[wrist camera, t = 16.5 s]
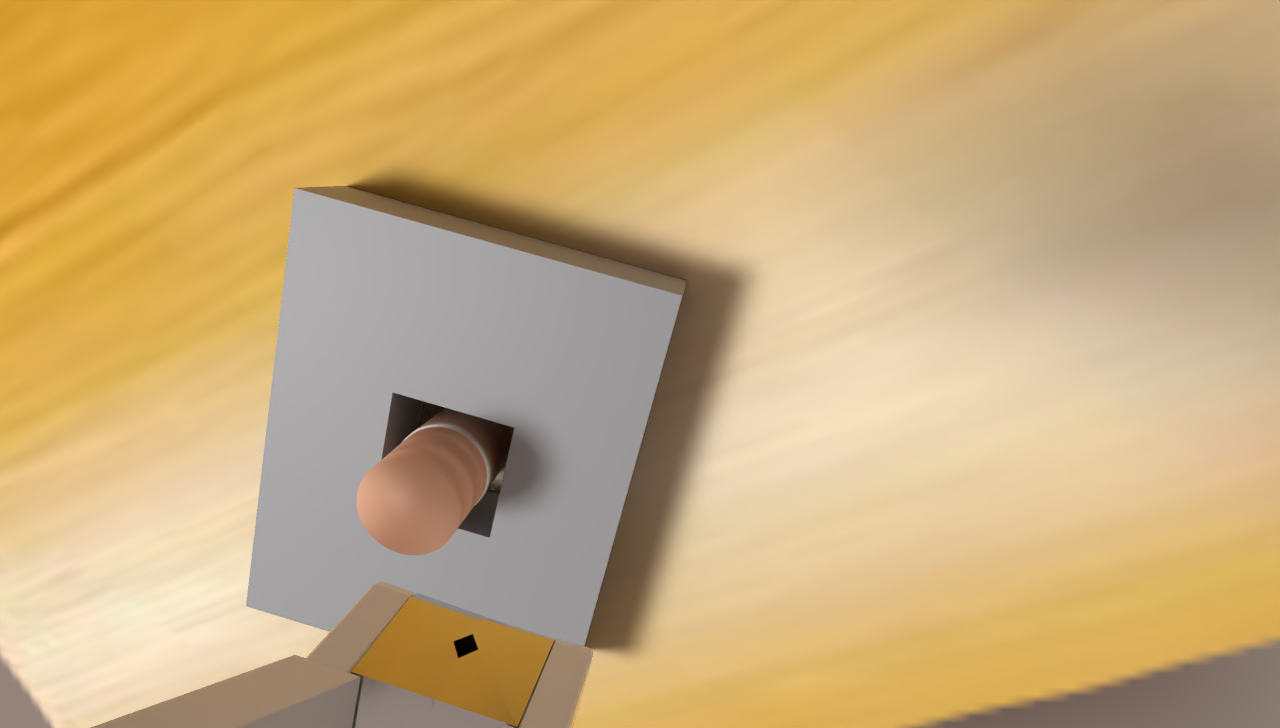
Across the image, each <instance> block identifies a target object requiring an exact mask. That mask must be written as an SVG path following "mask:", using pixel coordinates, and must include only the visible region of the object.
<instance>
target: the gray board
mask: <svg viewBox="0 0 1280 728" xmlns="http://www.w3.org/2000/svg"><path fill="white" fill-rule="evenodd" d="M686 283H687V281H686V280H683V279H679V278H676V277H672V276H668V275H665V274H661V273H658V272H654V271H650V270H647V269H643V268H640V267H636V266H632V265H629V264H625V263H621V262H618V261H614V260H611V259H607V258H603V257H600V256H596V255H593V254H589V253H585V252H582V251H578V250H575V249H571V248H567V247H564V246H560V245H557V244H553V243H549V242H546V241H542V240H539V239H535V238H531V237H528V236H524V235H521V234H517V233H513V232H510V231H506V230H502V229H499V228H495V227H492V226H488V225H484V224H481V223H477V222H474V221H470V220H466V219H463V218H459V217H456V216H452V215H448V214H445V213H441V212H438V211H434V210H430V209H427V208H423V207H420V206H416V205H412V204H409V203H405V202H401V201H398V200H394V199H391V198H387V197H383V196H380V195H376V194H373V193H369V192H365V191H362V190H358V189H355V188H351V187H347V186H334V187H308V188H295V190H294V198H293V207H292V215H291V224H290V233H289V241H288V250H287V259H286V267H285V276H284V284H283V293H282V302H281V310H280V319H279V328H278V336H277V345H276V354H275V362H274V371H273V379H272V388H271V397H270V405H269V414H268V423H267V431H266V440H265V448H264V457H263V466H262V474H261V483H260V492H259V500H258V509H257V517H256V526H255V535H254V543H253V552H252V561H251V569H250V578H249V586H248V595H247V604H246V606H247V607H251V608H254V609H257V610H260V611H264V612H267V613H270V614H274V615H277V616H280V617H283V618H287V619H290V620H293V621H297V622H300V623H303V624H306V625H310V626H313V627H316V628H320V629H323V630H326V631H331V630H332V629H333V628H334V627H335V626H336V625H337V624H338V623H339V622H340V620H341V619H342V618H343V617H344V616H345V615H346V614H347V613H348V612H349V611H350V609H351V608H352V607H353V606H354V605H355V604H356V603H357V602H358V601H359V600H360V598H361V597H362V596H363V595H364V594H365V593H366V592H367V591H368V590H369V589H370V588H371V586H373V585H375V584H377V583H379V582H381V581H382V582H385V583H388V584H391V585H394V586H397V587H400V588H403V589H406V590H409V591H412V592H414V593H415V594H416V593H419V594H422V595H425V596H428V597H431V598H433V599H436V600H439V601H442V602H445V603H448V604H451V605H453V606H456V607H459V608H462V609H465V610H468V611H471V612H474V613H476V614H479V615H482V616H485V617H487V618H490V619H493V620H497V621H500V622H503V623H506V624H509V625H512V626H516V627H519V628H522V629H525V630H528V631H531V632H535V633H538V634H541V635H544V636H547V637H550V638H554V639H561V640H564V641H567V642H571V643H574V644H578V645H581V646H584V647H585V644H586V640H587V637H588V633H589V629H590V626H591V622H592V619H593V615H594V612H595V608H596V604H597V601H598V597H599V594H600V590H601V587H602V583H603V579H604V576H605V572H606V569H607V565H608V562H609V558H610V554H611V551H612V547H613V544H614V540H615V537H616V533H617V530H618V526H619V522H620V519H621V515H622V512H623V508H624V505H625V501H626V497H627V494H628V490H629V487H630V483H631V480H632V476H633V472H634V469H635V465H636V462H637V458H638V455H639V451H640V447H641V444H642V440H643V437H644V433H645V430H646V426H647V423H648V419H649V415H650V412H651V408H652V405H653V401H654V398H655V394H656V390H657V387H658V383H659V380H660V376H661V373H662V369H663V365H664V362H665V358H666V355H667V351H668V348H669V344H670V340H671V337H672V333H673V330H674V326H675V323H676V319H677V316H678V312H679V308H680V305H681V301H682V298H683V294H684V291H685V287H686ZM424 402H428V403H431V404H434V405H438V406H441V407H445V408H448V409H452V410H455V411H459V412H462V413H466V414H469V415H473V416H476V417H480V418H483V419H486V420H490V421H493V422H497V423H500V424H504V425H507V426H511V427H514V431H513V436H512V440H511V445H510V449H509V454H508V458H507V463H506V467H505V471H504V476H503V480H502V485H501V489H500V494H499V493H496V492H493V491H489V490H487V491H486V493H485V494H484V495H483V497H482V498H481V500H480V501H479V502H478V503H477V504H476V505H475V506H474V507H473V508H472V510H471V511H470V512H469V514H468V515H467V517H466V518H465V519H464V521H463V522H462V523H461V525H460V526H459V527H458V529H457V530H456V531H455V533H454V534H453V536H452V537H451V538H450V540H449V541H448V542H447V543H446V544H445V545H443V546H442V547H441V548H439V549H438V550H436V551H434V552H431V553H428V554H424V555H405V554H400V553H397V552H394V551H392V550H390V549H388V548H386V547H384V546H383V545H381V544H380V543H378V542H377V541H376V540H375V539H374V538H373V537H372V536H371V535H370V534H369V533H368V531H367V530H366V529H365V527H364V525H363V524H362V522H361V519H360V517H359V514H358V510H357V500H356V499H357V491H358V487H359V485H360V482H361V480H362V479H363V477H364V476H365V474H366V473H367V472H368V471H369V470H370V469H371V468H373V467H374V466H375V465H376V464H377V463H378V462H380V461H381V460H382V459H383V458H384V457H386V456H387V455H388V454H389V453H390V452H391V451H393V450H394V449H395V448H396V447H397V446H399V445H400V444H401V443H402V442H403V441H404V439H405V438H406V437H407V436H409V435H410V434H411V433H412V432H413V431H414V430H416V429H417V428H419V425H420V420H421V414H422V409H423V403H424Z"/></svg>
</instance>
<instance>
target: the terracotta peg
mask: <svg viewBox="0 0 1280 728" xmlns="http://www.w3.org/2000/svg"><path fill="white" fill-rule="evenodd" d="M513 431H514V427H511V426H507V425H504V424H500V423H497V422H493V421H490V420H486V419H483V418H480V417H476V416H473V415H469V414H466V413H462V412H459V411H455V410H452V409H448V408H445V407H443V408H442V409H441V410H440V411H439V412H437V413H436V414H435V415H434V416H433V417H432V418H430V419H429V420H428V421H427V422H426V423H424V424H423V425H422V426H421V427H419V428H417V429H416V430H414V431H413V432H412V433H411V434H410V435H409V436H407V437H406V438H405V439H404V441H403V442H402V443H401V444H400V445H399V446H397V447H396V448H395V449H394V450H393V451H391V452H390V453H389V454H388V455H387V456H386V457H384V458H383V459H382V460H381V461H380V462H378V463H377V464H376V465H375V466H374V467H373V468H371V469H370V470H369V471H368V472H367V473H366V474H365V476H364V477H363V479H362V480H361V482H360V485H359V487H358V491H357V499H356V500H357V510H358V514H359V517H360V519H361V522H362V524H363V525H364V527H365V529H366V530H367V531H368V533H369V534H370V535H371V536H372V537H373V538H374V539H375V540H376V541H377V542H378V543H380V544H381V545H383V546H384V547H386V548H388V549H390V550H392V551H394V552H397V553H400V554H405V555H424V554H428V553H431V552H434V551H436V550H438V549H439V548H441V547H442V546H443V545H445V544H446V543H447V542H448V541H449V540H450V538H451V537H452V536H453V534H454V533H455V531H456V530H457V529H458V527H459V526H460V525H461V523H462V522H463V521H464V519H465V518H466V517H467V515H468V514H469V512H470V511H471V510H472V508H473V507H474V506H475V505H476V504H477V503H478V502H479V501H480V500H481V498H482V497H483V495H484V494H485V493H486V491H487V489H488V487H489V485H490V484H491V483H492V481H493V480H494V479H495V477H496V476H497V475H498V473H499V472H500V470H501V469H502V468H503V466H504V465H505V464H506V462H507V458H508V454H509V449H510V445H511V440H512V436H513Z"/></svg>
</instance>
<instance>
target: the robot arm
mask: <svg viewBox="0 0 1280 728" xmlns="http://www.w3.org/2000/svg"><path fill="white" fill-rule="evenodd" d="M592 657H593V649H591V648H588V647H584V646H581V645H578V644H574V643H571V642H567V641H564V640H561V639H554V638H550V637H547V636H544V635H541V634H538V633H535V632H531V631H528V630H525V629H522V628H519V627H516V626H512V625H509V624H506V623H503V622H500V621H497V620H493V619H490V618H487V617H485V616H482V615H479V614H476V613H474V612H471V611H468V610H465V609H462V608H459V607H456V606H453V605H451V604H448V603H445V602H442V601H439V600H436V599H433V598H431V597H428V596H425V595H422V594H419V593H416V594H415V593H414V592H412V591H409V590H406V589H403V588H400V587H397V586H394V585H391V584H388V583H385V582H382V581H381V582H379V583H377V584H375V585H373V586H371V588H370V589H369V590H368V591H367V592H366V593H365V594H364V595H363V596H362V597H361V598H360V600H359V601H358V602H357V603H356V604H355V605H354V606H353V607H352V608H351V609H350V611H349V612H348V613H347V614H346V615H345V616H344V617H343V618H342V619H341V620H340V622H339V623H338V624H337V625H336V626H335V627H334V628H333V629H332V630H331V631H330V633H329V634H328V635H327V636H326V637H325V638H324V639H323V640H322V641H321V642H320V644H319V645H318V646H317V647H316V648H315V649H314V650H313V651H312V652H311V653H310V654H309V656H308V657H307V658H303V657H300V656H297V655H293V656H291V657H288V658H285V659H282V660H279V661H277V662H274V663H271V664H268V665H265V666H263V667H260V668H257V669H254V670H251V671H248V672H246V673H243V674H240V675H237V676H234V677H232V678H229V679H226V680H223V681H220V682H218V683H215V684H212V685H209V686H206V687H204V688H201V689H198V690H195V691H192V692H190V693H187V694H184V695H181V696H178V697H176V698H173V699H170V700H167V701H164V702H161V703H159V704H156V705H153V706H150V707H147V708H145V709H142V710H139V711H136V712H133V713H131V714H128V715H125V716H122V717H119V718H117V719H114V720H111V721H108V722H105V723H103V724H100V725H97V726H94V727H91V728H573V724H574V720H575V717H576V713H577V710H578V706H579V703H580V699H581V696H582V692H583V689H584V685H585V682H586V678H587V675H588V671H589V667H590V664H591V660H592Z"/></svg>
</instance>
